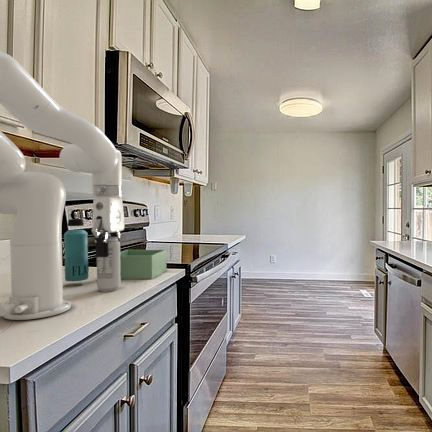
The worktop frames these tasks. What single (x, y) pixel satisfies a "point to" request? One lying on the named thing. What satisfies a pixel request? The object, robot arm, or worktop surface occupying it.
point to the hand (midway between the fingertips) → (108, 254)
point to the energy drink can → (109, 267)
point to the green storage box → (142, 263)
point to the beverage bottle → (76, 252)
